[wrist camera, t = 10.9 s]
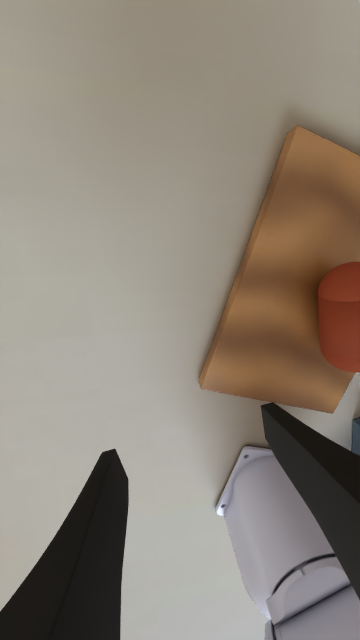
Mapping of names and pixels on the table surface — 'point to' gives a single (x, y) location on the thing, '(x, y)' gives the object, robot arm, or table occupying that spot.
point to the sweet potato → (340, 316)
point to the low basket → (356, 436)
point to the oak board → (290, 280)
